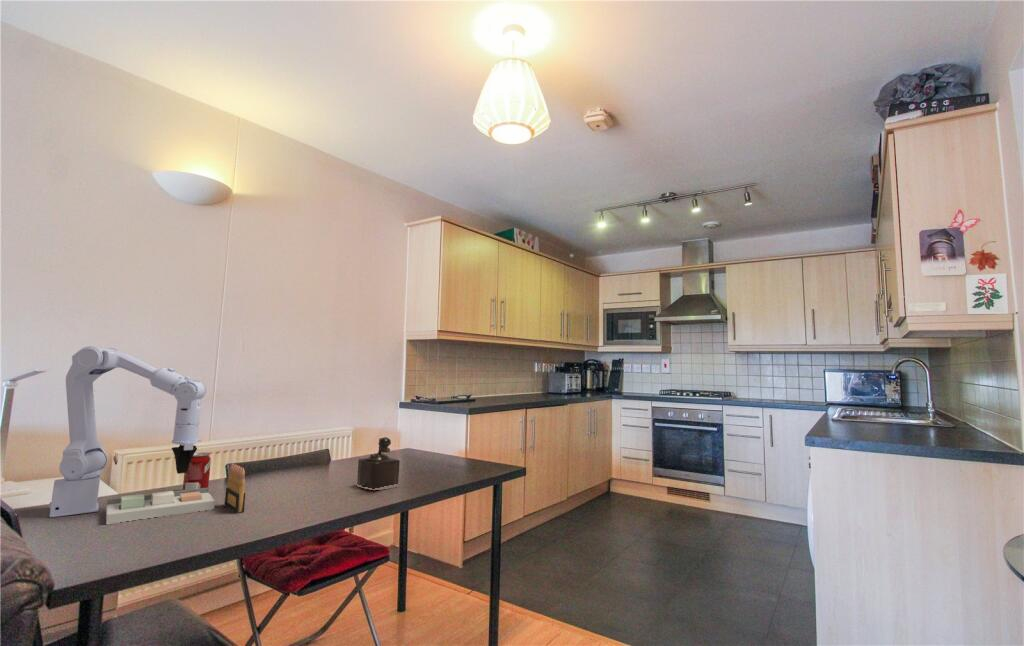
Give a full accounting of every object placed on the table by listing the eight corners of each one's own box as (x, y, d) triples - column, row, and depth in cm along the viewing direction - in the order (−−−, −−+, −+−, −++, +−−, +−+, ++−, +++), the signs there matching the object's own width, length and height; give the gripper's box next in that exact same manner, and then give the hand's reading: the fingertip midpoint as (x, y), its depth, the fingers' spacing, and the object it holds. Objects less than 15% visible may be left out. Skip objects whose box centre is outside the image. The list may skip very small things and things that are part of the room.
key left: (120, 513, 122) (122, 500, 122) (119, 508, 125) (121, 496, 126) (143, 510, 125) (144, 497, 125) (141, 506, 128) (143, 493, 129)
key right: (181, 509, 130) (182, 497, 131) (178, 505, 134) (180, 493, 134) (200, 506, 133) (201, 494, 134) (198, 502, 137) (199, 491, 137)
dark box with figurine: (354, 486, 162) (357, 433, 164) (381, 482, 171) (384, 431, 173) (379, 495, 152) (383, 438, 154) (408, 489, 161) (410, 436, 163)
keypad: (106, 524, 117) (108, 509, 118) (105, 513, 126) (107, 499, 127) (214, 509, 132) (215, 496, 133) (206, 499, 141) (208, 487, 142)
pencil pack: (244, 512, 131) (247, 467, 132) (236, 513, 129) (240, 468, 131) (231, 504, 138) (235, 462, 139) (224, 505, 137) (228, 462, 138)
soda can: (198, 496, 145) (202, 456, 146) (176, 495, 145) (180, 455, 146) (212, 490, 152) (216, 452, 153) (192, 489, 152) (195, 451, 153)
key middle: (152, 508, 126) (153, 496, 126) (150, 504, 130) (151, 492, 130) (173, 506, 129) (174, 494, 130) (171, 502, 133) (172, 490, 133)
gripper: (208, 425, 131) (202, 476, 130) (199, 420, 142) (194, 467, 141) (177, 427, 127) (171, 479, 125) (170, 421, 138) (165, 469, 136)
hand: (181, 472), depth 133 cm, fingers closed
